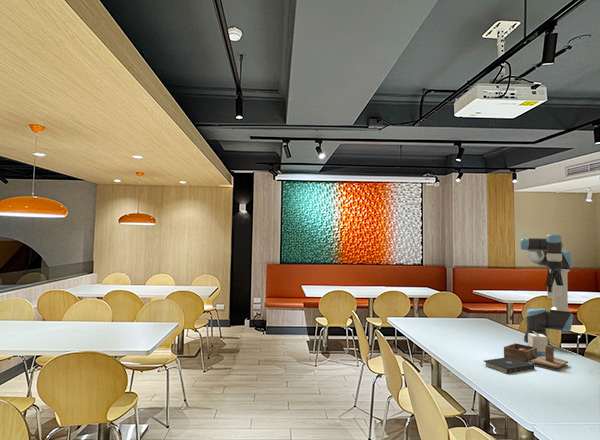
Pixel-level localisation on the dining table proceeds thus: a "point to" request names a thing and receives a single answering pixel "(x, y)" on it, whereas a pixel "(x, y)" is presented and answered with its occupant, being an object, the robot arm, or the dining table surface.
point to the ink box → (538, 343)
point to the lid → (549, 359)
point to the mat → (550, 367)
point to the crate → (520, 352)
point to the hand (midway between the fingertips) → (554, 297)
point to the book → (509, 365)
